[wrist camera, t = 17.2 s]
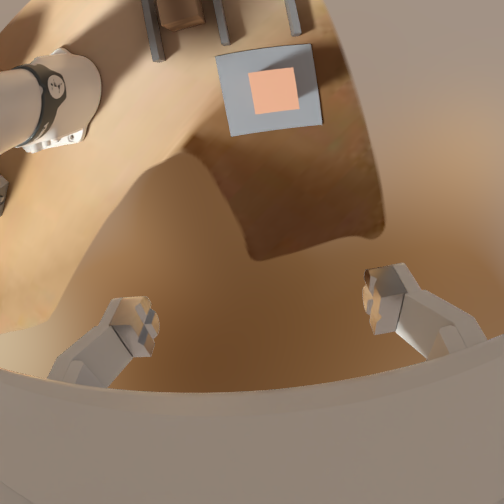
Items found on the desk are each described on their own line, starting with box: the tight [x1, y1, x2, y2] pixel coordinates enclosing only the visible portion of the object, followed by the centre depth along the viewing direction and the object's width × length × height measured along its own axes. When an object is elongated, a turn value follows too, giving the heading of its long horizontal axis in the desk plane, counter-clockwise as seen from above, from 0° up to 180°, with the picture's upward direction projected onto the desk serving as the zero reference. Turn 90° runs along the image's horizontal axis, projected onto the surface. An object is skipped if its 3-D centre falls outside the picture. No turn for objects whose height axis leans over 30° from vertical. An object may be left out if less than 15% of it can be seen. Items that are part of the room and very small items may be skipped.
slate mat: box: [215, 44, 322, 137], centre depth 38 cm, size 14×13×1 cm
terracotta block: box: [248, 67, 300, 114], centre depth 33 cm, size 5×5×11 cm
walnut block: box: [156, 0, 205, 32], centre depth 29 cm, size 5×5×6 cm
